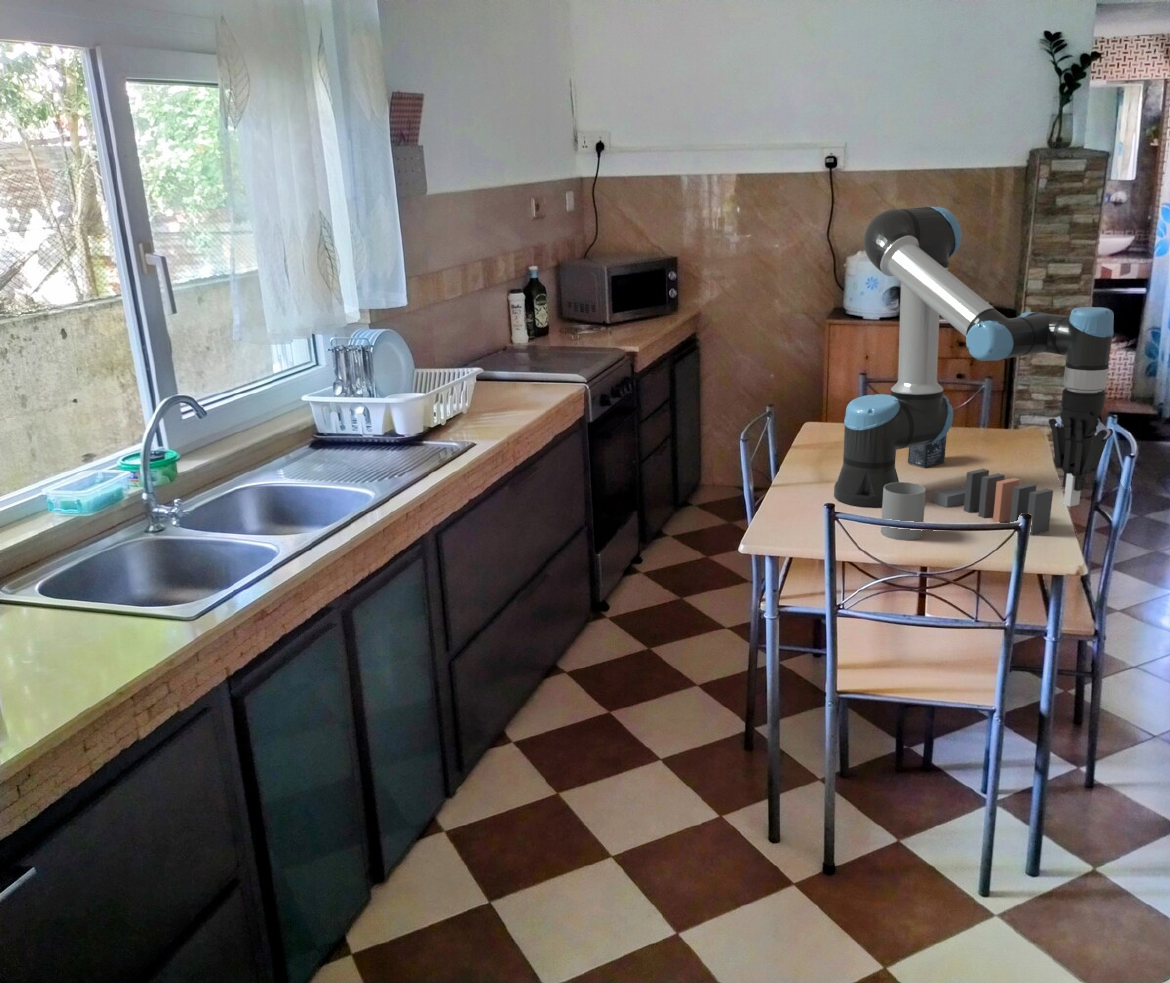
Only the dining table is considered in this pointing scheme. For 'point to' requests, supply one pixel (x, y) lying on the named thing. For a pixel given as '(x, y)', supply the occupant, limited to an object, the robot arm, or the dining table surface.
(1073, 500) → the robot arm
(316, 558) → the dining table surface
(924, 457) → the box
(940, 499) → the block
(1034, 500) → the domino
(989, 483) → the domino
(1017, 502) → the domino
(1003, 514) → the domino
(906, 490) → the cup
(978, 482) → the domino
